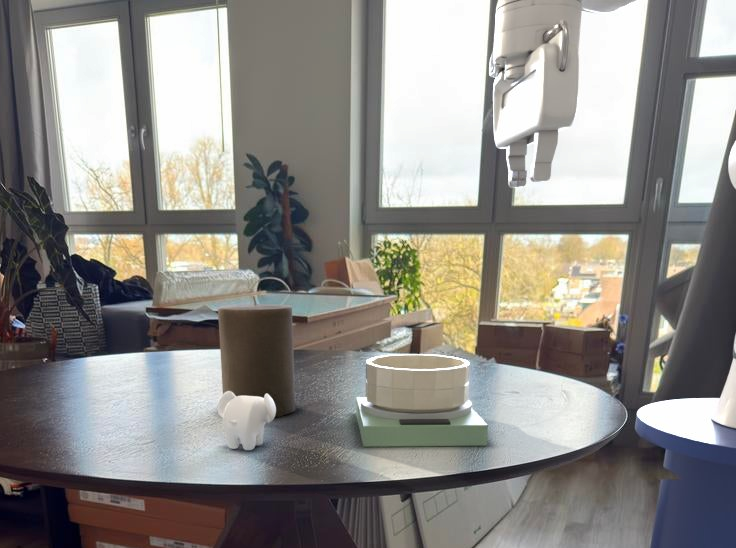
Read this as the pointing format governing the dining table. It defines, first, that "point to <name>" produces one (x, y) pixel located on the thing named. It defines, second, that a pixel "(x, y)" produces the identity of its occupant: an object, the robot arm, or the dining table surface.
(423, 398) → the bowl
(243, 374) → the pillar candle
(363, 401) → the scale
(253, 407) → the elephant figurine
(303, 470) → the dining table surface
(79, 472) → the dining table surface
